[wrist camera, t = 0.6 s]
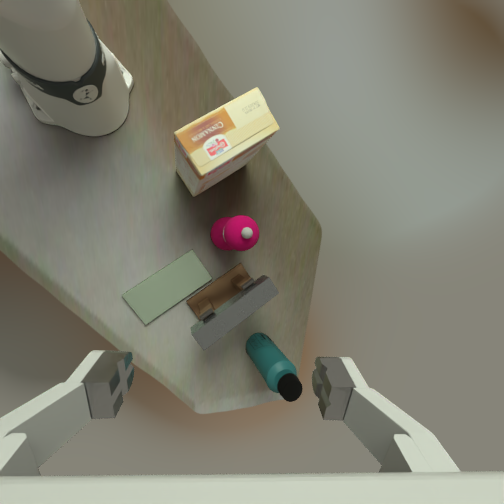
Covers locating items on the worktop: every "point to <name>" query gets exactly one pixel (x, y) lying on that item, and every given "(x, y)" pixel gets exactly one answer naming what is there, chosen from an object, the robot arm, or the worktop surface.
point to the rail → (233, 312)
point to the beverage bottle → (274, 367)
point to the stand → (220, 291)
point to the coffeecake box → (222, 141)
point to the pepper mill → (235, 233)
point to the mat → (167, 287)
